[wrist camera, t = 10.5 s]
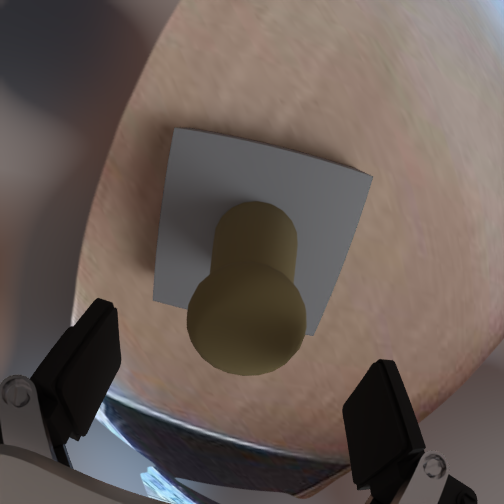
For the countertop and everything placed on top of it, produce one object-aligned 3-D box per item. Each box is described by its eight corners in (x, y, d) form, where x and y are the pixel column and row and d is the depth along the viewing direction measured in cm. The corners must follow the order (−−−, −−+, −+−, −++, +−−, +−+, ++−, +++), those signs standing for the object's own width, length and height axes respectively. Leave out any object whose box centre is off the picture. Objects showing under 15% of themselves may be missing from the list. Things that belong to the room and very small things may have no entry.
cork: (244, 292, 23) (227, 407, 13) (197, 230, 21) (138, 323, 11) (312, 254, 21) (345, 361, 11) (268, 184, 19) (268, 247, 9)
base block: (189, 127, 22) (174, 127, 18) (356, 168, 22) (373, 176, 19) (166, 278, 27) (152, 300, 24) (308, 310, 28) (313, 336, 24)
